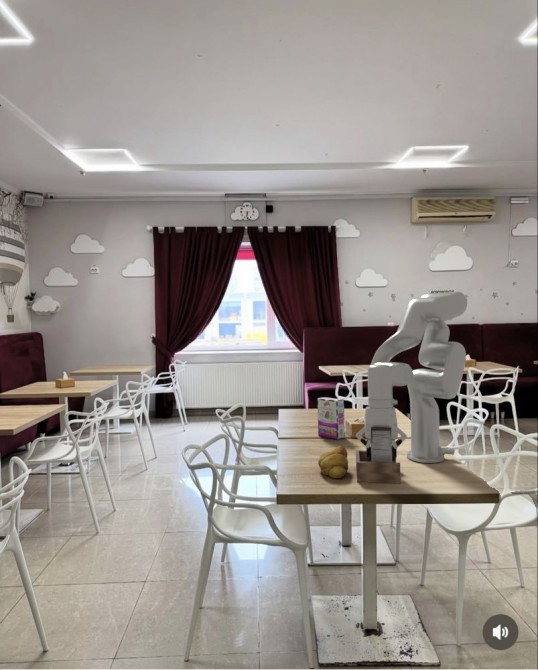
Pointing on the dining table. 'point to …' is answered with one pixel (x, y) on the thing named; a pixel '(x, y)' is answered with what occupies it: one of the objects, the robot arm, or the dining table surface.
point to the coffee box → (381, 444)
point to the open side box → (376, 470)
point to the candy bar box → (331, 418)
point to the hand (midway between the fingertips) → (381, 459)
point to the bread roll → (334, 462)
